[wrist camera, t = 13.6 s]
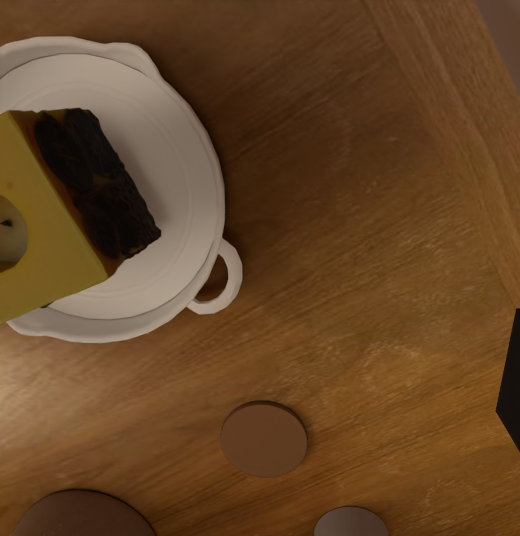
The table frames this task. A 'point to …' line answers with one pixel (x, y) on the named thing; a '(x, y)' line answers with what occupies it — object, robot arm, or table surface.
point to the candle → (63, 208)
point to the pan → (144, 176)
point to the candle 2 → (350, 523)
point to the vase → (81, 517)
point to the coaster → (264, 439)
